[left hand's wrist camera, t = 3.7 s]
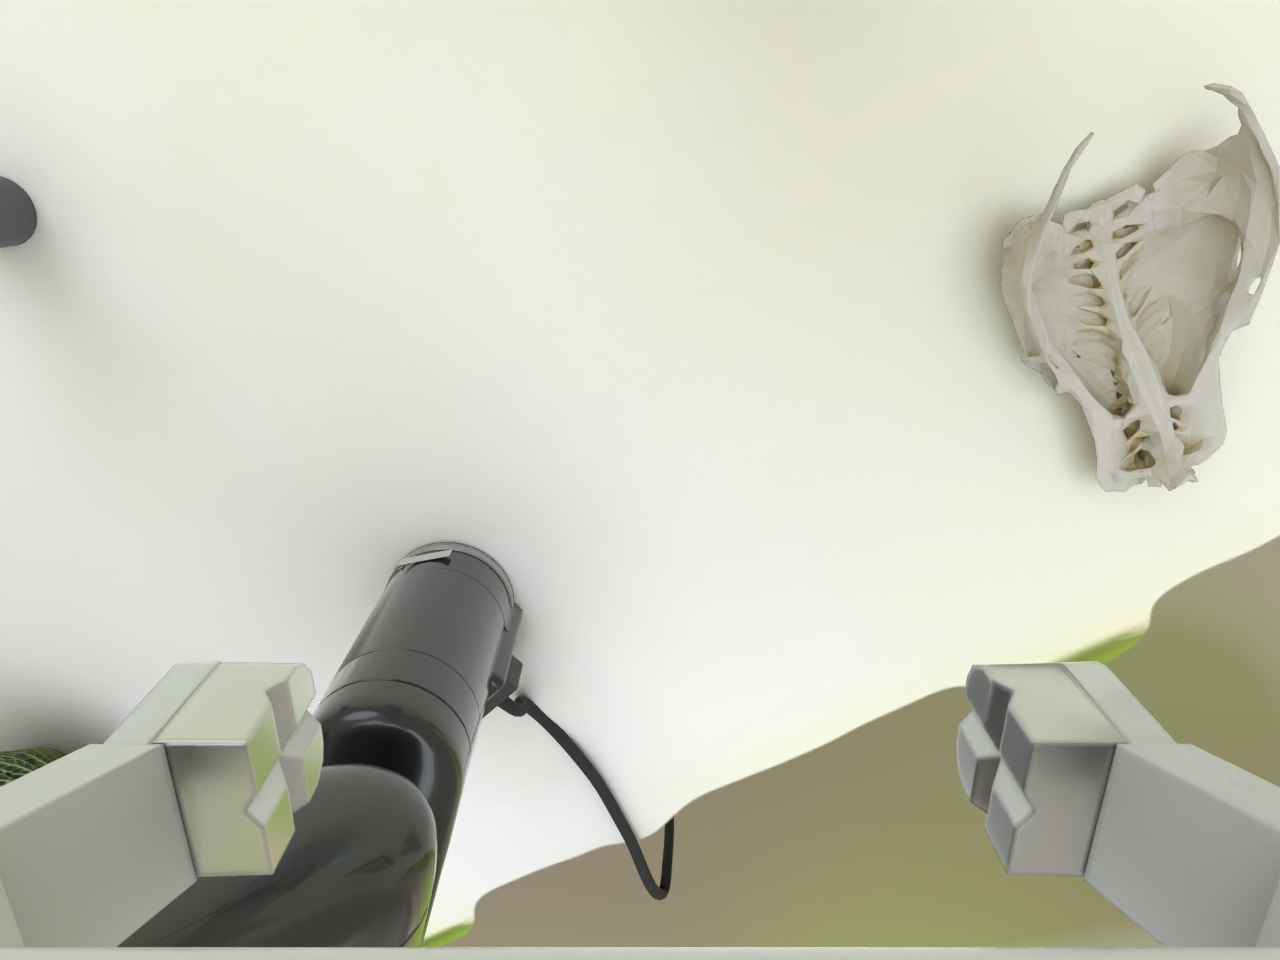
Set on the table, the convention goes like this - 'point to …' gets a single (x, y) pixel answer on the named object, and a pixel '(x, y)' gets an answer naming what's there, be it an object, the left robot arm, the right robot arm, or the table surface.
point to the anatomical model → (1149, 301)
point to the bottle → (15, 214)
